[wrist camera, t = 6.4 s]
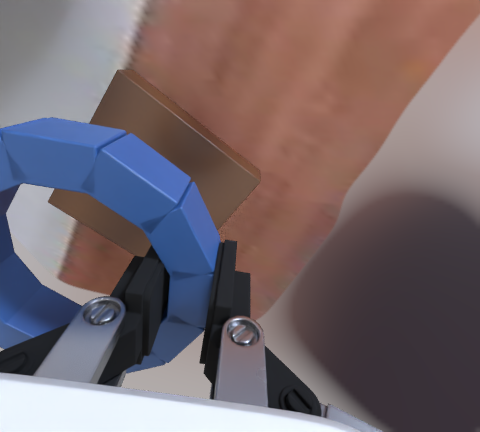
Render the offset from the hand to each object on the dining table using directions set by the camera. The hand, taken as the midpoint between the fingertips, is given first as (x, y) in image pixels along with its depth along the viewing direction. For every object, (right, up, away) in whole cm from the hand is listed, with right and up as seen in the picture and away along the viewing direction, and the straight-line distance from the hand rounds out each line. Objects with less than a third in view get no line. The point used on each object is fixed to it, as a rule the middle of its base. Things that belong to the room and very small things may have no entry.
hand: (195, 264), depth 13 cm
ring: (-4, +1, 0) cm, 4 cm away
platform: (-6, +6, +16) cm, 18 cm away
